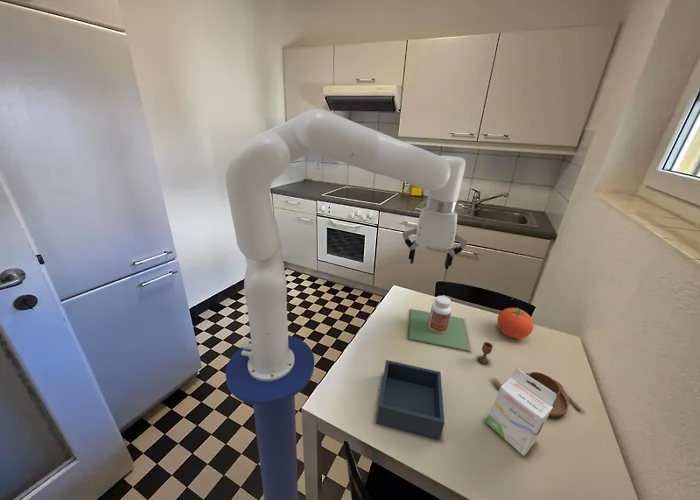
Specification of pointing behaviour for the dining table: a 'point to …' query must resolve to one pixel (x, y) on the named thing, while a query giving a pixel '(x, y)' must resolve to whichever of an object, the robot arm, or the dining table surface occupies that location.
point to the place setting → (560, 402)
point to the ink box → (521, 411)
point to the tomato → (515, 322)
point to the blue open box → (411, 400)
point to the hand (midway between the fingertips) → (428, 264)
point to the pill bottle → (440, 314)
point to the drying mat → (450, 338)
